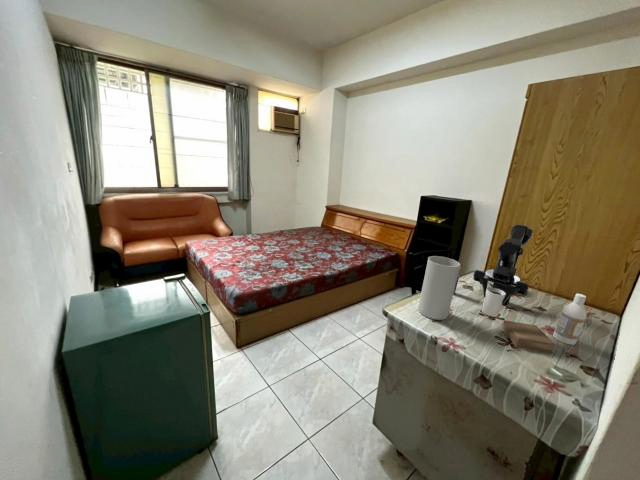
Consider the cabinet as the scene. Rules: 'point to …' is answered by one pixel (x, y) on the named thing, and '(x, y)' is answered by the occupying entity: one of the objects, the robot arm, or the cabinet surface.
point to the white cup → (493, 301)
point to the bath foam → (571, 321)
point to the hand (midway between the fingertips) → (493, 299)
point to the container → (457, 280)
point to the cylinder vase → (438, 287)
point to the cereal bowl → (490, 273)
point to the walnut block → (528, 336)
